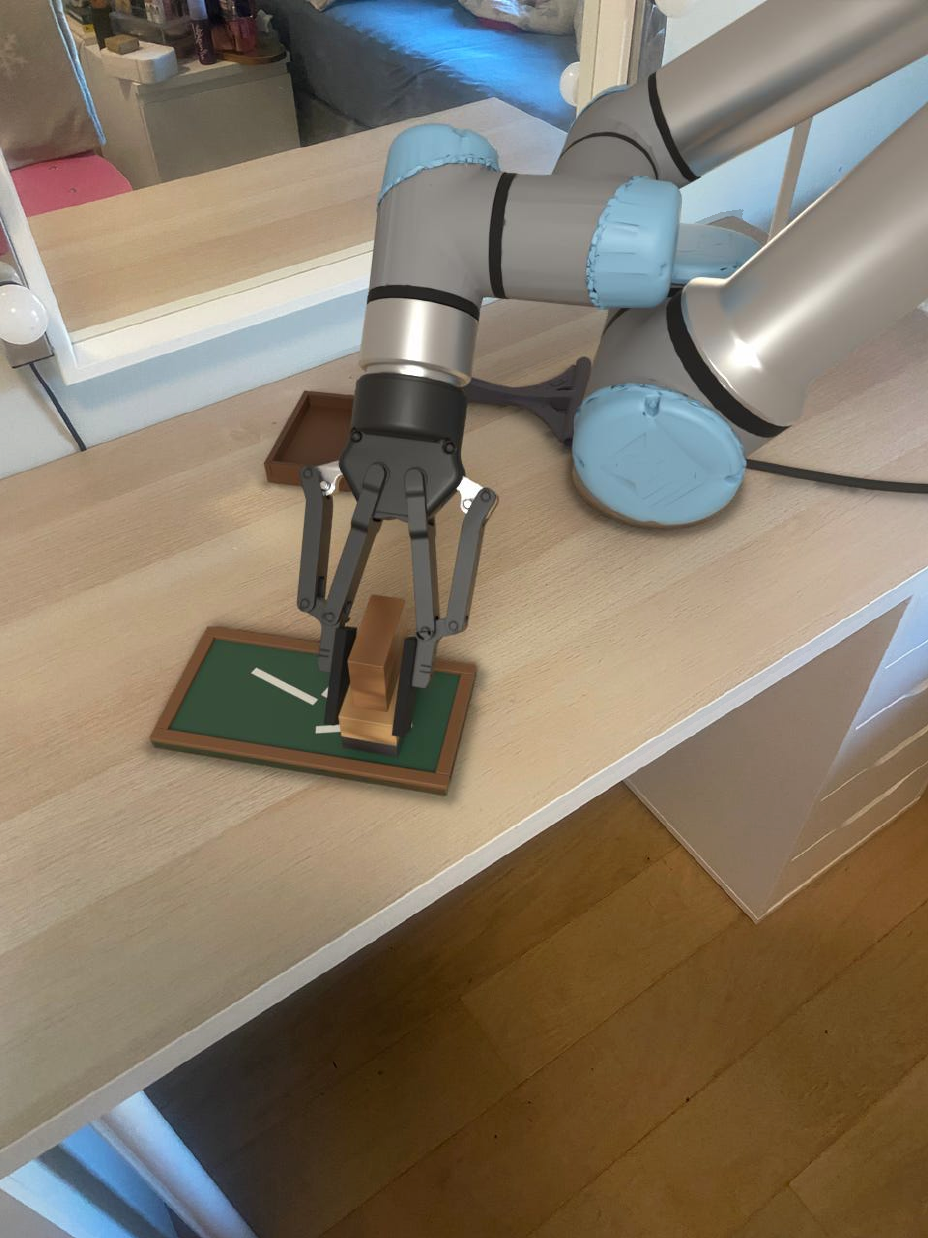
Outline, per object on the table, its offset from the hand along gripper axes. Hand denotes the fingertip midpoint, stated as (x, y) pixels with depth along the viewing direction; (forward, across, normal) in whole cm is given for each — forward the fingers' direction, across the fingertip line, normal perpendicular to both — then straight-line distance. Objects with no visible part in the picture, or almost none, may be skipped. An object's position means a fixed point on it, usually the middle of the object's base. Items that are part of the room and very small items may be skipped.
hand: (367, 726), depth 61 cm
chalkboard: (+1, +5, -6) cm, 8 cm away
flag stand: (-44, -28, -50) cm, 72 cm away
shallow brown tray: (-21, +14, -28) cm, 38 cm away
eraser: (-1, 0, -5) cm, 5 cm away
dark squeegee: (-29, -3, -36) cm, 46 cm away
